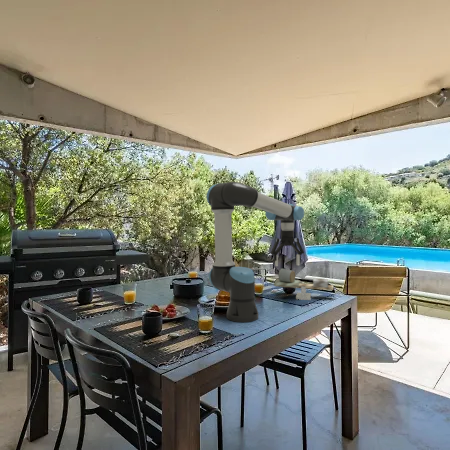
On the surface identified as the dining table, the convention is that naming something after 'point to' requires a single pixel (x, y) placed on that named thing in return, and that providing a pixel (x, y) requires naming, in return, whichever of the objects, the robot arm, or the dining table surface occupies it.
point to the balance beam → (296, 284)
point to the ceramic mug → (286, 275)
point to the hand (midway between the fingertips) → (287, 265)
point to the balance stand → (303, 294)
